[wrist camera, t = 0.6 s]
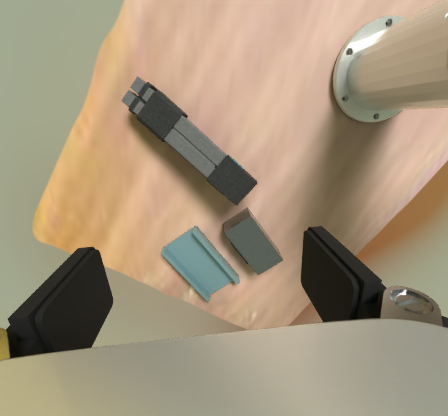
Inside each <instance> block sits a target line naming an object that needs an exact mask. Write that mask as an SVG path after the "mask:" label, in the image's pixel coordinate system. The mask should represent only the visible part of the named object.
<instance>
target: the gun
mask: <svg viewBox="0 0 448 416" xmlns="http://www.w3.org/2000/svg"><path fill="white" fill-rule="evenodd" d="M130 88H132V89H133V90H134V91H135V92H136V93H137V94H138V95H139V96H137V95H136V94H135V93H133V92H131V91H129V90H128V92H127V93H126V95H125V96H124V98H123V99H122V102H123V103H125V104H126V105H127V106H128V107H129V109H128V110H129V111H130V112H132V113H133V114H137V115H138V116H137V119H138V120H139V121H140V122H141V123H142V124H144V125H145V126H146V127H147V128H148V129H149V130H150V131H151V132H153V133H154V134H155V135H156V136H157V137H158V138H159V139H160V140H161V141H163V142H167V143H168V144H169V145H170V146H171V147H172V148H174V149H175V150H176V151H177V152H178V153H179V154H180V155H181V156H183V157H184V158H185V159H186V160H187V161H188V162H189V163H190V164H192V165H193V166H194V167H195V168H196V169H197V170H198V171H199V172H200V173H202V174H203V175H204V176H205V177H206V178H207V181H208V182H209V183H211V184H212V185H213V186H214V187H215V188H216V189H217V190H218V191H220V192H221V193H222V194H224V195H225V196H226V197H227V198H228V199H229V200H231V201H232V202H233V203H234V204H236V205H238V203H239V202H240V201H241V200H242V199H243V198H244V197H245V196H246V195H247V194H248V193H249V192H250V191H251V190H252V189H253V188H254V186H255V185H256V184H257V181H256V180H255V179H254V178H253V177H252V176H251V175H250V174H249V173H247V172H246V171H245V169H243V168H242V167H241V166H240V165H239V164H238V163H237V162H236V161H235V160H234V159H232V158H231V157H230V156H229V155H226V154H225V153H224V152H223V151H222V150H221V149H220V148H218V147H217V146H216V145H215V144H214V143H213V142H212V141H211V140H210V139H209V138H207V137H206V136H205V135H204V134H203V133H202V132H201V131H200V130H199V129H198V128H197V127H195V126H194V125H193V124H192V123H191V122H190V121H189V120H188V119H187V117H188V116H187V115H186V114H185V113H184V112H183V111H182V110H181V109H180V108H179V107H178V106H177V105H175V104H174V103H173V102H172V101H171V100H170V99H169V98H168V97H167V96H166V95H164V94H163V93H162V92H160V91H159V90H158V89H156V88H155V87H154V86H153V85H151V84H150V83H148V82H147V83H146V82H145V81H143V80H142V79H141V78H139V77H137V78H136V80H135V81H134V83H133V84H132V86H131V87H130Z"/></svg>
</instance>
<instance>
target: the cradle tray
mask: <svg viewBox="0 0 448 416" xmlns="http://www.w3.org/2000/svg"><path fill="white" fill-rule="evenodd" d="M161 254H162V255H163V256H164V257H165V258H166V259H167V260H168V262H169V263H170V264H171V265H172V266H173V267H174V268H175V269H176V270H177V271H178V272H179V273H180V274H181V275H182V276H183V277H184V278H185V279H186V280H187V281H188V282H189V283H190V284H191V285H192V286H193V287H194V288H195V290H196V291H197V292H198V293H199V294H200V295H201V296H202V297H203V298H204V299H205V300H206V301H207V302H209V301H210V294H212V293H213V292H215V291H217V290H218V289H220V288H222V287H223V286H225V285H227V284H228V283H230V282H232V281H233V280H234V281H235V283H236V284H239V283H240V281H239V276H238V274H237V273H236V272H235V271H234V270H233V269H232V267H231V266H230V265H229V264H228V263H227V261H226V260H225V259H224V258H223V257H222V256H221V254H220V253H219V252H218V251H217V250H216V248H215V247H214V246H213V245H212V244H211V243H210V241H209V240H208V239H207V238H206V237H205V235H204V234H203V233H202V232H201V231H200V230H199V228H198V227H197V226H194V227H193V228H191V229H190V230H188V231H187V232H185V233H184V234H183V235H181V236H180V237H178V238H177V239H175V240H174V241H172V242H171V243H169V244H168V245H166V246H165V247H163V250H162V252H161Z"/></svg>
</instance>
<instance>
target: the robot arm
mask: <svg viewBox="0 0 448 416" xmlns="http://www.w3.org/2000/svg"><path fill="white" fill-rule="evenodd" d="M346 52H347V55H346ZM333 91H334V96H335V99H336V101H337V103H338V105H339V107H340V108H341V110H342V111H343V112H344V113H345V114H346V115H347V116H349V117H351V118H352V119H354V120H358V121H361V122H379V121H383V120H386V119H388V118H391V117H393V116H395V115H396V114H398V113H399V112H401V111H402V110H403V109H430V108H448V0H441V1H439V2H437V3H435V4H433V5H431V6H429V7H427V8H425V9H423V10H421V11H419V12H417V13H415V14H413V15H411V16H409V17H407V18H405V17H402V16H395V15H390V16H384V17H380V18H378V19H375V20H373V21H371V22H369V23H367V24H366V25H364V26H363V27H361V28H360V29H359V30H357V31H356V32H355V33H354V34H353V35H352V36H351V37H350V38H349V39H348V41H347V42H346V44H345V45H344V47H343V48H342V50H341V52H340V54H339V56H338V58H337V61H336V64H335V67H334V73H333ZM342 97H343V101H342ZM373 116H374V117H373ZM381 281H382V280H381V279H380V278H379V277H377V276H376V275H375V274H374V273H373V272H372V271H371V270H370V269H369V268H368V267H366V266H365V265H364V264H363V263H362V262H361V261H360V260H358V258H356V257H355V256H354V255H353V254H352V253H351V252H350V251H349V250H348V249H347V248H345V247H344V246H343V245H342V244H341V243H340V242H339V241H338V240H337V239H335V238H334V237H333V236H332V235H331V234H330V233H329V232H328V231H327V230H325V229H324V228H323V227H322V226H318V227H309V228H308V230H307V231H304V238H303V253H302V269H301V283H302V286H303V288H304V290H305V292H306V293H307V295H308V297H309V298H310V300H311V302H312V303H313V305H314V307H315V309H316V310H317V312H318V314H319V316H320V317H321V319H322V320H323V322H322V323H313V324H303V325H294V326H284V327H275V328H265V329H256V330H247V331H238V332H229V333H220V334H211V335H202V336H192V337H183V338H175V339H166V340H157V341H148V342H139V343H130V344H121V345H112V346H103V347H95V348H91V347H92V345H93V343H94V341H95V339H96V337H97V335H98V333H99V331H100V329H101V327H102V325H103V323H104V321H105V319H106V317H107V315H108V313H109V311H110V309H111V307H112V305H113V297H112V293H111V290H110V286H109V283H108V279H107V276H106V272H105V269H104V265H103V262H102V258H101V255H100V252H99V250H96V249H95V248H94V247H86V248H78V249H77V250H76V251H75V252H74V253H73V254H72V255H71V256H70V257H69V258H68V259H67V260H66V261H65V262H64V263H63V264H62V265H61V266H60V267H59V268H58V269H57V270H56V271H55V272H54V273H53V274H52V275H51V276H50V277H49V278H48V279H47V280H46V281H45V282H44V283H43V284H42V285H41V286H40V287H39V288H38V289H37V290H36V291H35V292H34V293H33V294H32V295H31V296H30V297H29V298H28V299H27V300H26V301H25V302H24V303H23V304H22V305H21V306H20V307H19V308H18V309H17V310H16V311H15V312H14V313H13V314H12V315H11V316H10V317H9V318H8V321H9V323H10V326H9V327H8V328H7V329H6V330H5V329H3V328H0V416H448V318H446V317H444V316H441V310H440V308H439V306H438V304H437V303H436V302H435V301H434V300H433V299H432V298H430V297H429V296H427V295H425V294H424V293H421V292H419V291H417V290H414V289H412V288H408V287H403V286H393V287H388V288H386V287H385V286H384V285H383V284H382V283H381Z"/></svg>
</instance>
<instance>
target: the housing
mask: <svg viewBox="0 0 448 416" xmlns="http://www.w3.org/2000/svg"><path fill="white" fill-rule="evenodd" d="M223 227H224V234H225V235H226V236H227V237H228V239H229V240H230V241H231V244H232V245H233V247H234V248H235V249H236V250H237V252H238V253H239V254H240V255H241V257H242V258H243V259H244V260H245V262H246V263H247V264H248V263H249V265H250V266H251V267H252V268H253V270H254V271H255V272H256V273H257V275H259V274H261V273H263V272H264V271H266V270H268V269H269V268H271V267H273V266H274V265H276V264H278V263H279V262H281V261H283V259H282V257H281V255H280V252H279V250H278V249H277V247H276V246H275V245H274V243H273V242H272V240H271V239H270V238H269V236H268V235H267V234H266V232H265V231H264V229H263V228H262V227H261V225H260V224H259V222H258V221H257V220H256V218H255V217H254V216H253V214H252V213H251V211H250V210H249V209H248V208H246V209H245V210H243V211H242V212H240V213H239V214H237V215H236V216H234V217H233V218H231V219H230V220H228V221H227V222H225V223H223Z"/></svg>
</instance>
